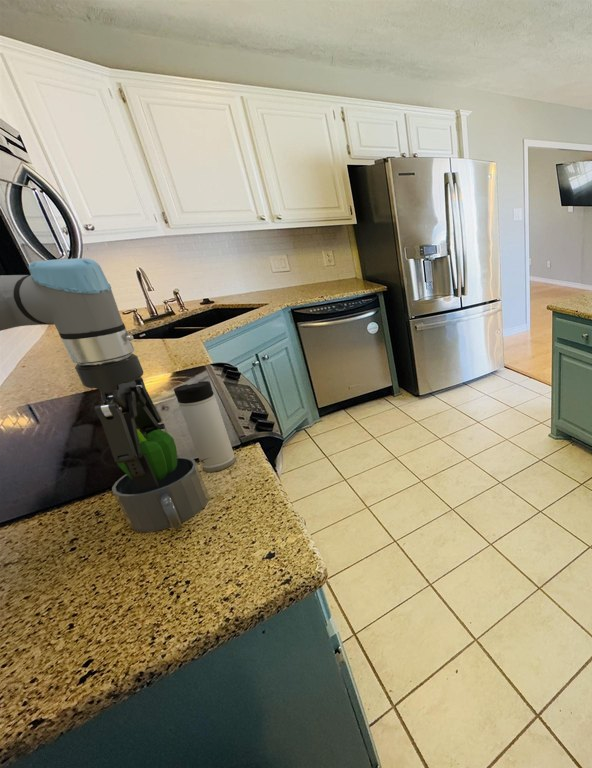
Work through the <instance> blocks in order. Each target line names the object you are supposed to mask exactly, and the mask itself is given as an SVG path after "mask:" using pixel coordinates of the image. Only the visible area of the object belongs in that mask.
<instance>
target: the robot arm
mask: <svg viewBox="0 0 592 768" xmlns="http://www.w3.org/2000/svg"><path fill="white" fill-rule="evenodd" d="M28 269H29V272H30V274H11V275H10V274H8V275H6V274H5V275H3V274H2V275H0V332H2V331H7V330H9V329H13V328H19V327H26V326H28V327H29V326H42V325H45V326H46V325H47V326H48V325H49V326H50V325H51V326H52V325H54V326H55V329H56V330H57V332H58V334H59V337H60V339H61V342H62V343H63V346H64V348H65V350H66V353H67V355H68V357H69V359H70V361H71V362H72V363H74V364H75V367H74V369H75V371H76V373H77V376H78V377H79V380H80V382H81V384H82V386H83V387H85V388H88V389H96V390H99V391H100V399H101V404H99V405H94V412H95V413H96V415H97V417H98V419H99V420H100V423H101V426H102V429H103V432H104V434H105V437H106V441H107V443H108V446H109V449H110V451H111V455H112V457H113V460H114V462H115V463H116V464H117V463H122V462H125V464H126V466H127V469H128V471H129V473H130V475H131V477H132V479H133V482H134V484H135V486H136V488H137V490H138V492H140V491H144V490H148V489H153V488H157V487H158V486H159V484H158V482H157V480H156V477H155V475H154V473H153V470H152V468H151V466H150V463H149V461H148V459H147V456H146V454H142V452H141V447H140V443H139V438H138V433H137V429H138V430H139V431H140V432H141V434H148V433H150V432H152V431H154V430H158V429H160V430H165V428H166V426H165V423H162V418H161V416H160V414H159V412H158V411H157V408H156V406H155V404H154V402H153V399H152V398H151V396H150V394H149V392H148V390H147V388H146V385H145V381H144V379H143V377H142V376H143V375H144V369H143V367H142V364H141V362H140V359H139V357H138V355H136V354H134V351H135V347H134V346H133V343H132V341H134V336H133V335H132V334H129V333H128V330H127V328H126V325H125V323H124V322H123V319H122V316H121V313H120V311H119V308H118V305H117V302H116V299H115V296H114V293H113V291H112V286H111V284H110V282H109V281H108V279H107V277H106V275H105V273H104V271H103V269H102V267H101V265H100V263H98V262H97V261H96V260H94V259H91V258H85V257H84V258H82V257H80V258H79V257H78V258H59V259H46V260H44V259H43V260H37V261H32V262H31V263H29V265H28Z"/></svg>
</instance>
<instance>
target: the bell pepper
mask: <svg viewBox="0 0 592 768" xmlns="http://www.w3.org/2000/svg"><path fill="white" fill-rule="evenodd" d="M136 429H137V433H138V438H139V443H140V447H141V452H142V454H146V456H147V459H148V461H149V463H150V466H151V468H152V470H153V473H154V475H155V477H156V480H157V481H159V480H161V479H163V478H164V477H166V476H167V473H170V472H172V471H174V470H175V469H176V466H177V457H178V452H177V445H176V443H175V439H174V437H172V435H170V434H169V433H168V432H166V431H164V430H163V429H161V430H160V429H158V430H154V431H152V432H150V433H148V434H146V433H142V431H141V430H140V429H139V428H136ZM116 465H117V466H118V467H119V468H120V469H121V470H122V472H123V473H124V474H125V475H126V474H127V475H128V476H129V477H130V478H131V479H132V477H131V475H130V473H129V471H128V469H127V466H126V464H125V462H122V463H116ZM132 480H133V479H132Z"/></svg>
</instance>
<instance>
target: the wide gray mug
mask: <svg viewBox="0 0 592 768" xmlns="http://www.w3.org/2000/svg"><path fill="white" fill-rule="evenodd" d="M157 482H158V484H159V486H158V487H157V488H153V489H148V490H144V491H140V492H138V490H137V488H136V486H135V484H134V482H133V480H132V479H131V478H130V477H129V476H128V475H127V474H126V473H125V474H124V475H122V476H121V477H120V478H118V480H117V481H115V482H114V484H113V485H112V487H111V491H112V494H113V496H114V498H115V500H116V502H117V504H118V506H119V508H120V510H121V512H122V514H123V516H124V519H125V521H126V523H127V524H128V526H129V527H130V529H131V530H133V531H134V532H136V533H137V532H138V533H153V532H158V531H162V530H167V529H170V528H172V529H178V528H180V527H181V526H182V523H184V522H186V521H188V520H189V519H192V518H193V517H195V516H196V515H197V514H198V513H199V512H201V511H202V510H203V509H204V508H205V507H206V505H207V504H208V503H209V499H210V497H209V494H208V491H207V488H206V486H205V482H204V480H203V477H202V474H201V471H200V469H199V467H198V463H197V462H196V460H195V459H193V458H191V457H186V456H177V466H176V469H175V470H174V471H172V472H170V473H167V476H166V477H164V478H163V479H161V480H159V481H157Z"/></svg>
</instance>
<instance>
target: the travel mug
mask: <svg viewBox="0 0 592 768" xmlns="http://www.w3.org/2000/svg"><path fill="white" fill-rule="evenodd" d="M173 393H174V395H175V397H176V400H177V404H178V407H179V409H180V413H181V415H182V417H183V420H184V422H185V425H186V428H187V430H188V434H189V436H190V438H191V441H192V444H193V447H194V449H195V452H196V455H197V458H198V460H199V463H200V466H201V469H202V470H203V471H205V472H207V473H208V472H209V473H212V472H213V473H214V472H219V471H222V470H225V469H227V468H229V467H230V466H232V465H234V463H236V456H235V453H234V450H233V447H232V443H231V441H230V438H229V437H230V436H229V435H228V431H227V429H226V425H225V423H224V419H223V417H222V413H221V410H220V408H219V404H218V400H217V398H216V395H215V392H214V391H213V387H212V384H211V381H209V380H202V381H197V382H196V383H195V382H194V383H190V384H188V383H186V384H183V385H182V384H181V385H179V386H177V387H174V388H173Z"/></svg>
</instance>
